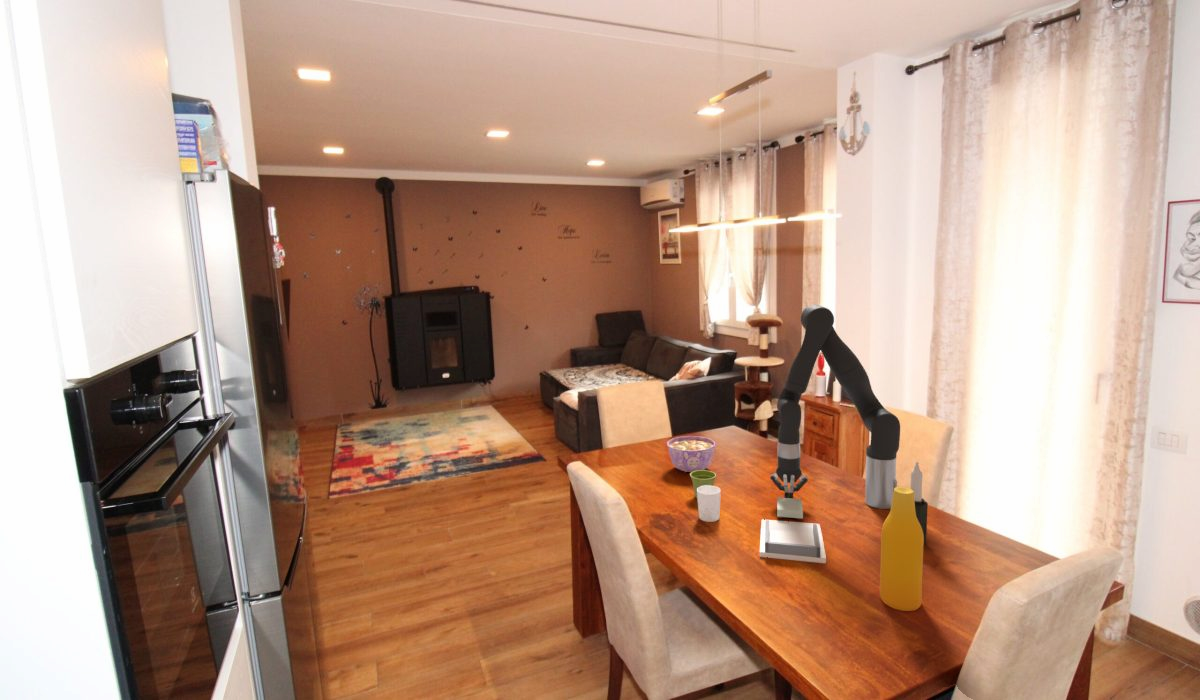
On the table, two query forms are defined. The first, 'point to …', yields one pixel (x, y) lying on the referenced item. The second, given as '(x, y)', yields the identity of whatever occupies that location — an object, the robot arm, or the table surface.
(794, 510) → the grey rectangular block
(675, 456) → the bowl of food
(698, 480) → the plant pot
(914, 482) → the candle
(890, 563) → the beer bottle
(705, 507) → the white cup
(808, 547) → the loading dock
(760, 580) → the table surface
